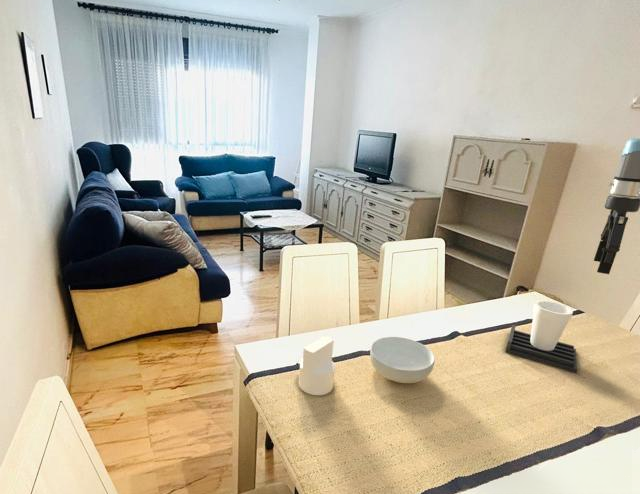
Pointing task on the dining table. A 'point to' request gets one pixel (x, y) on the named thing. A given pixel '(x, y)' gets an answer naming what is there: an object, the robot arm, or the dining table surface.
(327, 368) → the base with upright slab
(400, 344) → the cereal bowl
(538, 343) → the foam cup
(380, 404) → the dining table surface
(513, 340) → the drying rack
